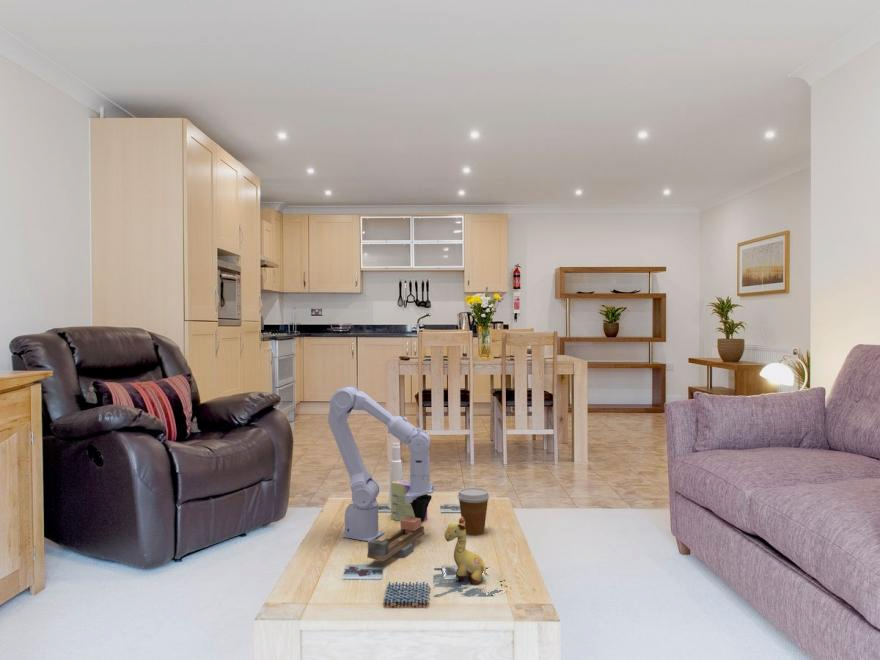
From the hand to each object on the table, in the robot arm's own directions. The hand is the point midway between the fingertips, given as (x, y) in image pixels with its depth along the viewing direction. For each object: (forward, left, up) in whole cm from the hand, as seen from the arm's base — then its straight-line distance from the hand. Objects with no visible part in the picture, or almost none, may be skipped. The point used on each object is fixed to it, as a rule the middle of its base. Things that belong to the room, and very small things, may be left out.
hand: (420, 521), depth 175 cm
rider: (0, -6, -2) cm, 6 cm away
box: (-11, +13, -5) cm, 18 cm away
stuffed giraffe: (+25, -22, -5) cm, 34 cm away
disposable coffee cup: (+12, +11, -5) cm, 17 cm away
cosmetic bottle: (-21, +22, -5) cm, 31 cm away
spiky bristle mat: (+16, -36, -6) cm, 40 cm away
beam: (0, -13, -5) cm, 14 cm away
